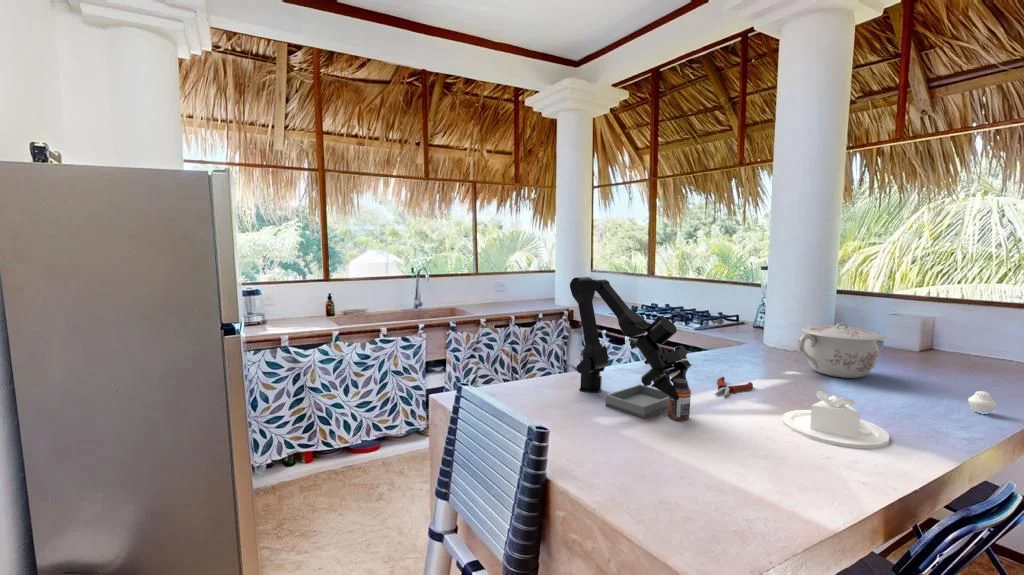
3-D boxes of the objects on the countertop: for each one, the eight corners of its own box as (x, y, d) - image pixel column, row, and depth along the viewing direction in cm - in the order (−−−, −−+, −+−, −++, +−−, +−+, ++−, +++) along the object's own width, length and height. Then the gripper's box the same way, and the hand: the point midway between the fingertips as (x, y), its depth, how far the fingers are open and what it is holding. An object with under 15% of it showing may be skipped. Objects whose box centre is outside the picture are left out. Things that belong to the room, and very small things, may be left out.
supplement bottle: (664, 414, 143) (666, 377, 142) (683, 413, 144) (685, 377, 143) (673, 421, 137) (674, 383, 136) (693, 421, 138) (694, 383, 137)
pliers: (701, 395, 163) (702, 387, 163) (720, 382, 178) (720, 375, 178) (737, 403, 156) (738, 395, 155) (753, 388, 171) (754, 381, 171)
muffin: (967, 408, 152) (969, 386, 151) (994, 413, 147) (997, 391, 147) (966, 412, 147) (969, 390, 147) (994, 418, 143) (997, 395, 142)
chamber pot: (877, 371, 194) (882, 320, 192) (885, 388, 171) (890, 331, 169) (797, 361, 209) (800, 314, 207) (795, 376, 186) (798, 323, 184)
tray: (605, 405, 150) (605, 394, 150) (639, 394, 161) (639, 384, 161) (643, 418, 139) (643, 407, 139) (676, 405, 151) (677, 394, 150)
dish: (896, 458, 116) (900, 413, 115) (779, 435, 129) (781, 394, 128) (883, 425, 137) (886, 387, 136) (783, 408, 150) (785, 373, 149)
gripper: (651, 341, 135) (685, 389, 128) (686, 333, 147) (719, 376, 140) (627, 363, 142) (658, 409, 135) (663, 354, 154) (693, 396, 147)
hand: (683, 397), depth 139 cm, fingers closed on supplement bottle, 6 cm apart
